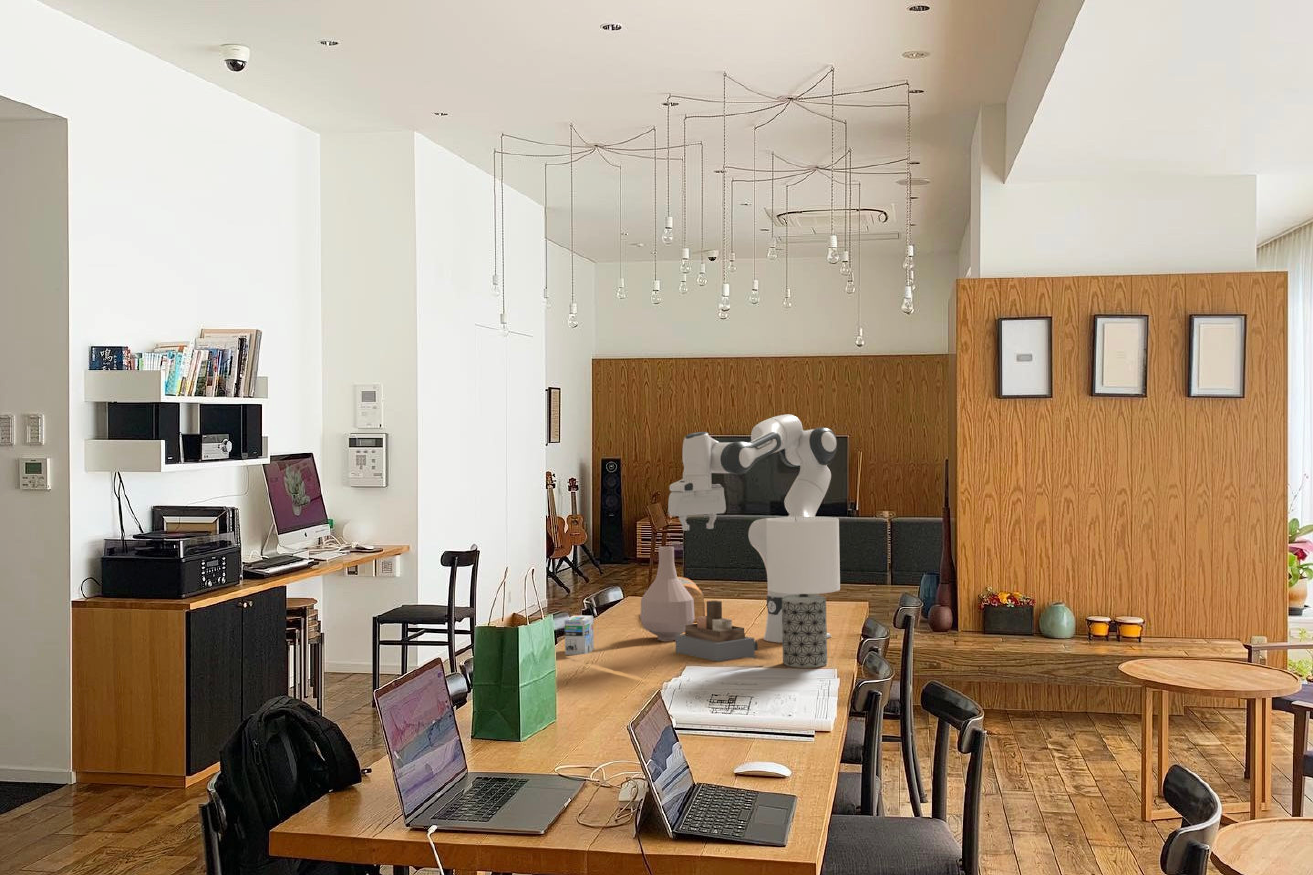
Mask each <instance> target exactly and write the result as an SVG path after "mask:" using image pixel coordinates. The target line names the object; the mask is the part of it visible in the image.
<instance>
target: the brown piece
mask: <svg viewBox="0 0 1313 875" xmlns="http://www.w3.org/2000/svg"><path fill="white" fill-rule="evenodd" d="M722 604H723V603H722V601H720V600H708V601H706V616H707V629H704V628H699V627H697V624H691V625H686V626H685V627H686V630H685V632H684V634H685V635H686V636H691V637H696V638H701V639H705V640H710V641H715V642H723V641H730V640H737V639H743V638H745V637H746V633H745V628H744V627H741V626H735V625H732V630H725V631H714V630H713V621H712V620H714V619H721V618H723V610H722V609H723V607H722V606H723V605H722Z"/></svg>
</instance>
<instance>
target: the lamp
mask: <svg viewBox="0 0 1313 875" xmlns="http://www.w3.org/2000/svg"><path fill="white" fill-rule="evenodd" d="M768 518H769V519H766V528H767V571H766V580H767V591H768V590H769V591H772V592H777V593H788V594H791V595H786V596H785V597H783V598H782V636H783V643H782V664H783V665H784V666H786V667H789V668H794V669H795V668H796V669H815V668H816V669H817V668H822V667H825V666H826V665H827V663H828V641H827V640H828V638H827V633H828V630H827V629H828V628H827V623H828V622H827V598H826V597H824V596H823V595H821V594H828V593H834V592H838V591H840V590H841V573H840V572H841V570H840V569H841V568H840V567H841V565H840V564H841V563H840V562H841V560H840V519H839V518H838V517H830V516H815V517H788V516H783V517H782V516H779V517H768Z"/></svg>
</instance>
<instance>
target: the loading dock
mask: <svg viewBox="0 0 1313 875" xmlns="http://www.w3.org/2000/svg"><path fill="white" fill-rule="evenodd" d="M675 637H676V640H675V653H677V654H683V655H687V656H691V657H695V658H700V659H705V660H709V661H713V662H717V663H718V662H724V661H729V660H736V659H737V660H738V659H742V658H743V659H744V658H749V659H755V658H756V656H755V655H756V653H755V652H756V651H758V650H759V649H758V647H759V646H758V645H759V644H758V641H755V637H751V636H750V637H749V636H745V638H743V639H737V640H730V641H723V642H715V641H710V640H705V639H701V638H696V637H691V636H686V635H685V633H682V634H680V635H675Z"/></svg>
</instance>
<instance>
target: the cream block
mask: <svg viewBox="0 0 1313 875" xmlns="http://www.w3.org/2000/svg"><path fill="white" fill-rule="evenodd" d="M712 621H713V630H714V631H725V630H732V626H733V625H732V619H730V618H723V617H722V618H721V619H714V620H712Z"/></svg>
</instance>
